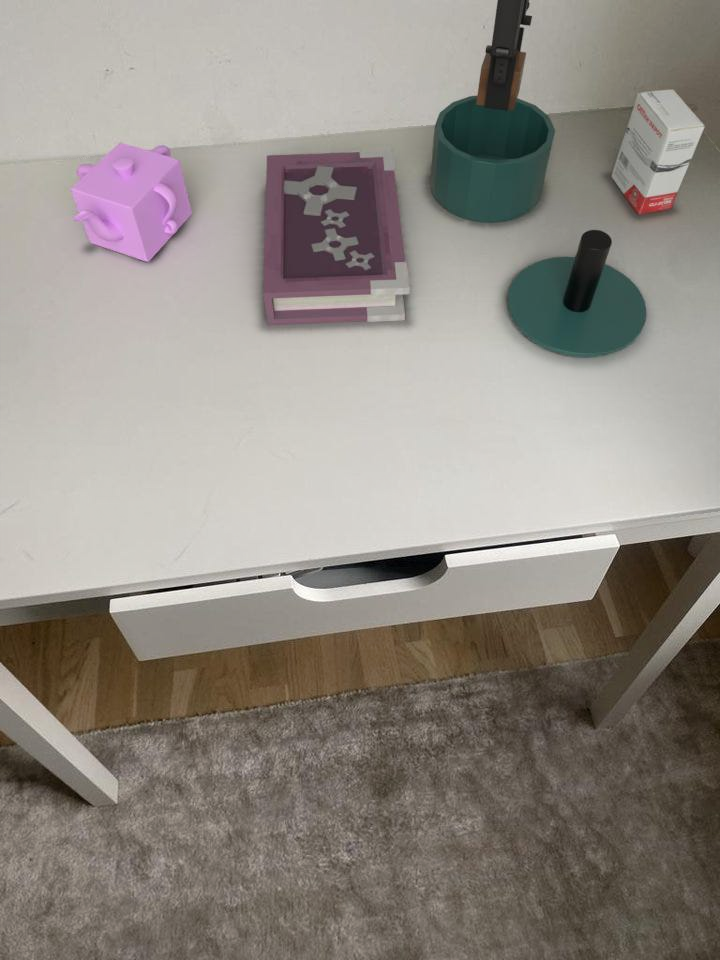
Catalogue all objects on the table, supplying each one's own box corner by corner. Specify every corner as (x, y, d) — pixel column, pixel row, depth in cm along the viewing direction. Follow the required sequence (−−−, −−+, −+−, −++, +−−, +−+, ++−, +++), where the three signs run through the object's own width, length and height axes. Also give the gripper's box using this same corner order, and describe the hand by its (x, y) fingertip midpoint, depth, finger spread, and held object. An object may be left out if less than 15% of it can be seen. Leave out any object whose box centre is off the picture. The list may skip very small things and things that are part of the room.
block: (519, 90, 92) (526, 52, 88) (513, 110, 90) (520, 72, 86) (482, 84, 93) (488, 46, 89) (476, 104, 90) (481, 66, 86)
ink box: (672, 209, 99) (707, 124, 89) (637, 216, 98) (668, 130, 88) (643, 170, 103) (673, 85, 93) (609, 176, 103) (636, 90, 93)
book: (407, 320, 88) (409, 287, 84) (267, 325, 88) (263, 293, 84) (391, 183, 102) (392, 149, 98) (271, 187, 102) (266, 154, 97)
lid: (647, 277, 92) (676, 205, 83) (638, 373, 84) (669, 304, 75) (517, 254, 94) (532, 182, 86) (495, 345, 86) (510, 276, 77)
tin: (547, 163, 104) (561, 103, 97) (532, 231, 97) (545, 171, 89) (443, 147, 106) (448, 87, 99) (420, 212, 99) (424, 152, 92)
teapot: (142, 297, 90) (119, 227, 82) (47, 264, 94) (16, 193, 85) (220, 209, 99) (206, 137, 91) (131, 181, 102) (110, 109, 94)
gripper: (511, -183, 76) (481, 53, 96) (480, -113, 67) (454, 132, 87) (587, -176, 75) (541, 61, 95) (565, -105, 66) (520, 142, 86)
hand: (499, 94), depth 91 cm, fingers closed on block, 4 cm apart
